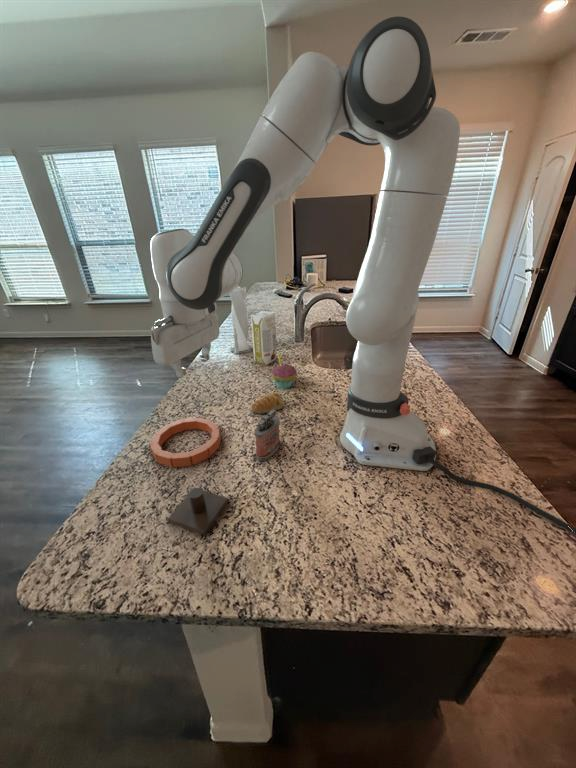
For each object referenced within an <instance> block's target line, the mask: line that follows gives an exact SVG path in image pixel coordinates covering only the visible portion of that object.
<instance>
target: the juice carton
mask: <svg viewBox="0 0 576 768" xmlns="http://www.w3.org/2000/svg"><path fill="white" fill-rule="evenodd" d="M250 324H251V338H252V350H253V351H252V352H253V361H254V363H258V364H261V365H265V366H267V365H269V364H270V363H272V362H274V361H276V360H277V357H278V352H277V329H276V314H275V312H272V311H266V310H260V311H259V312H257V313H252V314H250Z"/></svg>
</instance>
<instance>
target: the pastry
mask: <svg viewBox="0 0 576 768" xmlns="http://www.w3.org/2000/svg"><path fill="white" fill-rule="evenodd" d="M284 406H285V402H284V399H283V398H282V395H281V394H280V393H278V392H277V391H276V392H275V391H273V392H271V393H268V394H264V395H262V396H261V397H260V398H258V399H257V400H256V401H254V403H252V405H251V411H252V412H253V413H256V414H259V415H261V414H262V415H265V414H268V413H269V412H270V411H272V410H275V411H276V412H277V410H281V409H282V408H283V407H284Z"/></svg>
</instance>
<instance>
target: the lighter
mask: <svg viewBox="0 0 576 768" xmlns="http://www.w3.org/2000/svg"><path fill="white" fill-rule="evenodd" d="M280 421H281V419H280V417H278V416H277V410H276V411H275V410H272V411H270V412H269V413H266V414H262V416H261V417H260V419H259V420H258V421H257V426H256V428H254V430H253V435H254V437H255V448H256V453H255V458H256V460H257V461H260V462H261V461H262V462H264V461H266V460H267V459H269V458H270V457H272V456H273V455H274V454H275V453H276V452H277V451H278V450H279V448H280V446H281V440H280Z"/></svg>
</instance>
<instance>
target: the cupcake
mask: <svg viewBox="0 0 576 768" xmlns="http://www.w3.org/2000/svg"><path fill="white" fill-rule="evenodd" d="M277 357H278V362H279V364H278V365H276V366H274V367H273V368H272V369H271V371H270V374H271V377H272V379H273V380H274V381H275V383H276V386H277V387H278V388H280V389H288V388H290V387H291V386H292V384H293V381H294V380H295V379H296V378H297V375H298V371H297V369H296V367H294V366H293V365H291V364H287V363H285V364H282V359H281V358H282V357H281V353H280V352H279V351H277Z"/></svg>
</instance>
